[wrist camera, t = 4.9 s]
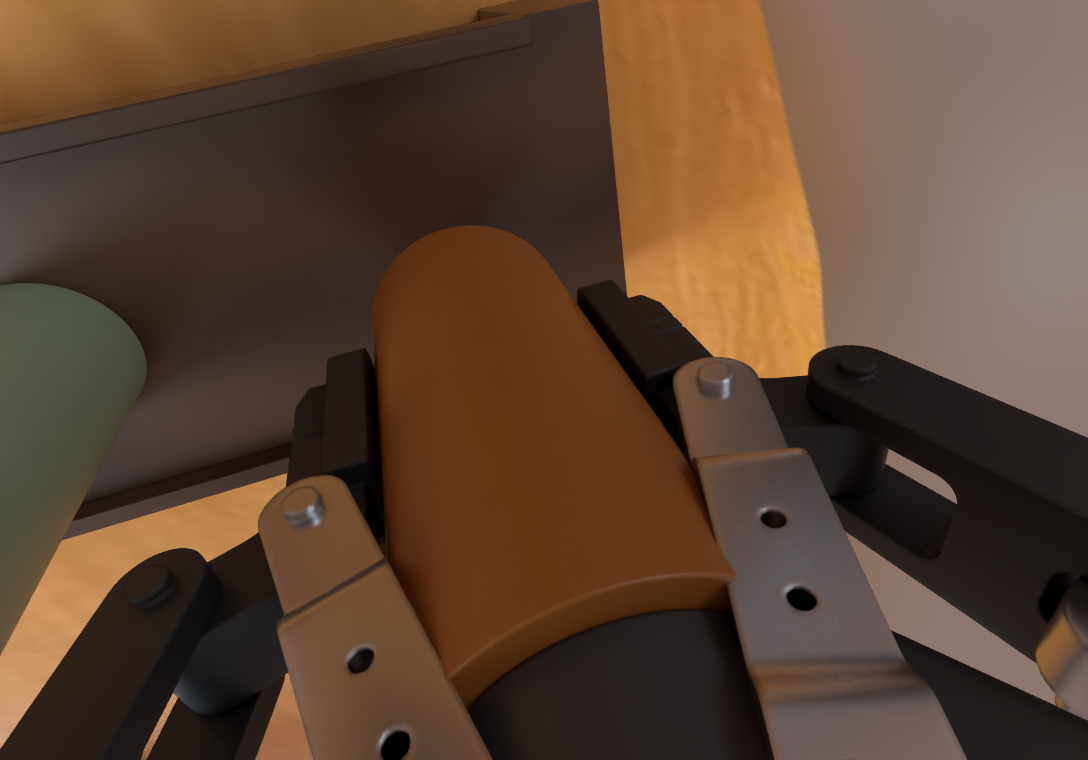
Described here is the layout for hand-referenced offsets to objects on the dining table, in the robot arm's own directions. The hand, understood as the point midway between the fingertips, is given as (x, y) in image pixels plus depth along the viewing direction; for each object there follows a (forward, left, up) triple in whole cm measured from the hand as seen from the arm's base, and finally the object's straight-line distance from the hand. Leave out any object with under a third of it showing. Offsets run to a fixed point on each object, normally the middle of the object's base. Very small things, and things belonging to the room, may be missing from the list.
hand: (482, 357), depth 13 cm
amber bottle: (0, 0, -2) cm, 2 cm away
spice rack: (0, -5, -13) cm, 14 cm away
